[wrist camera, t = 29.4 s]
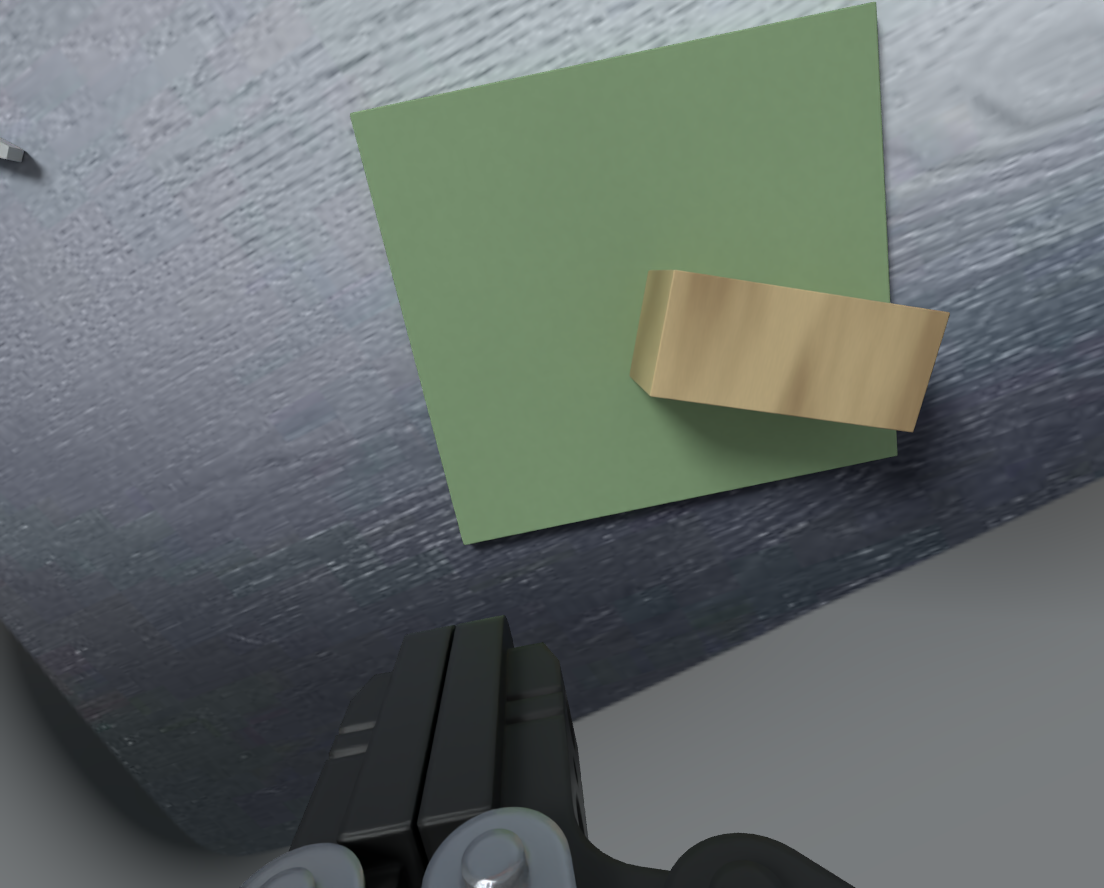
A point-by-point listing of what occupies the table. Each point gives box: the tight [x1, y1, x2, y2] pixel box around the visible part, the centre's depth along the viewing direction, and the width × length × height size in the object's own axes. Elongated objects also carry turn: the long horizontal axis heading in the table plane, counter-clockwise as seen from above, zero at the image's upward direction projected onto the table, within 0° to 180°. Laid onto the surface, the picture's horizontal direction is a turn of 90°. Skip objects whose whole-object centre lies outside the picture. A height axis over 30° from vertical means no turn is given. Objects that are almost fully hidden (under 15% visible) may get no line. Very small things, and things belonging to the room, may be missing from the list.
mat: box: [350, 2, 897, 545], centre depth 26 cm, size 18×20×1 cm
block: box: [629, 270, 950, 432], centre depth 24 cm, size 4×4×10 cm
